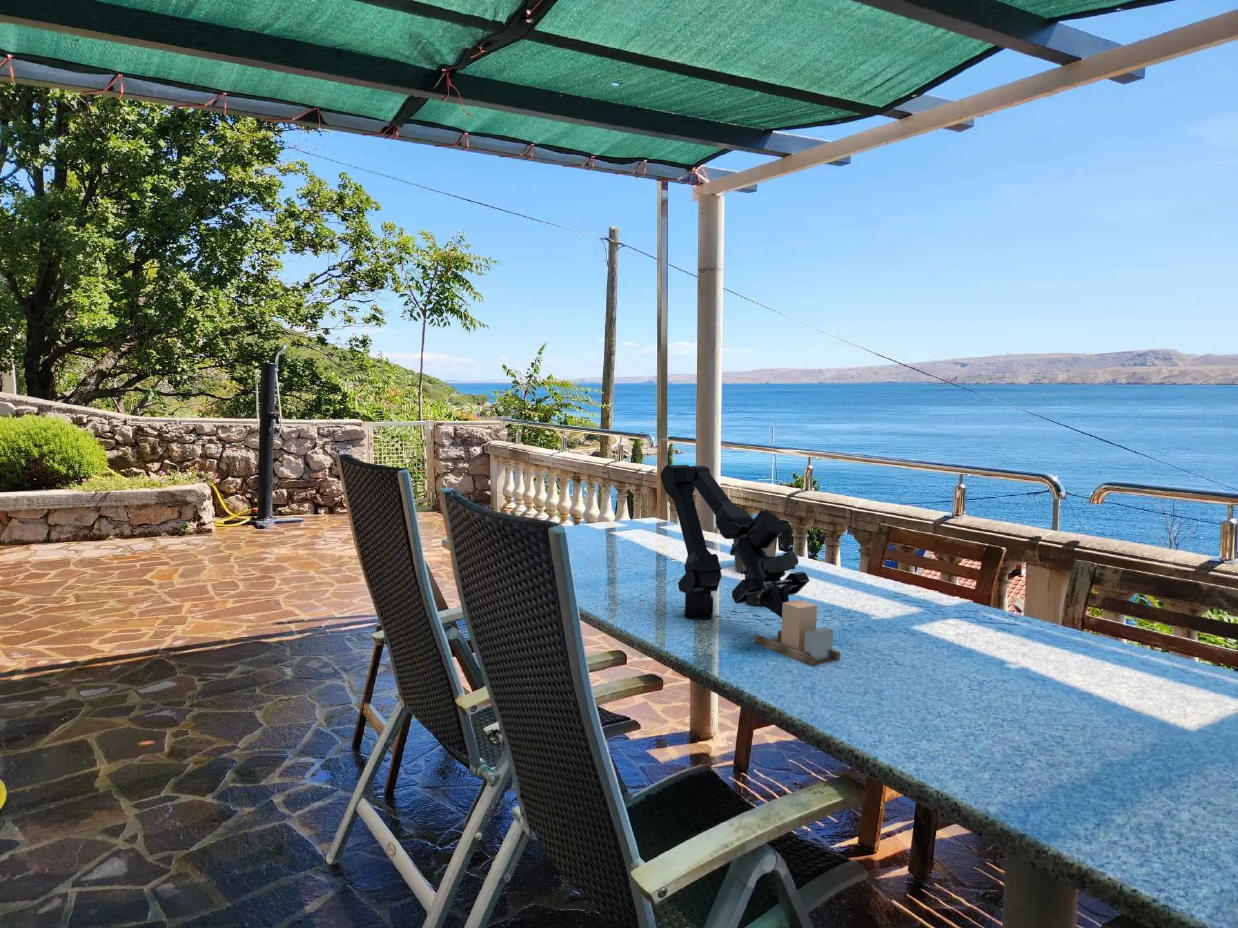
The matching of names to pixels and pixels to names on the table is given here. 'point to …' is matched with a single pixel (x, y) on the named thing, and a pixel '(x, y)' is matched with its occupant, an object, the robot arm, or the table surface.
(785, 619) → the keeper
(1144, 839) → the table surface
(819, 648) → the grey square block
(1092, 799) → the table surface
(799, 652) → the rail
